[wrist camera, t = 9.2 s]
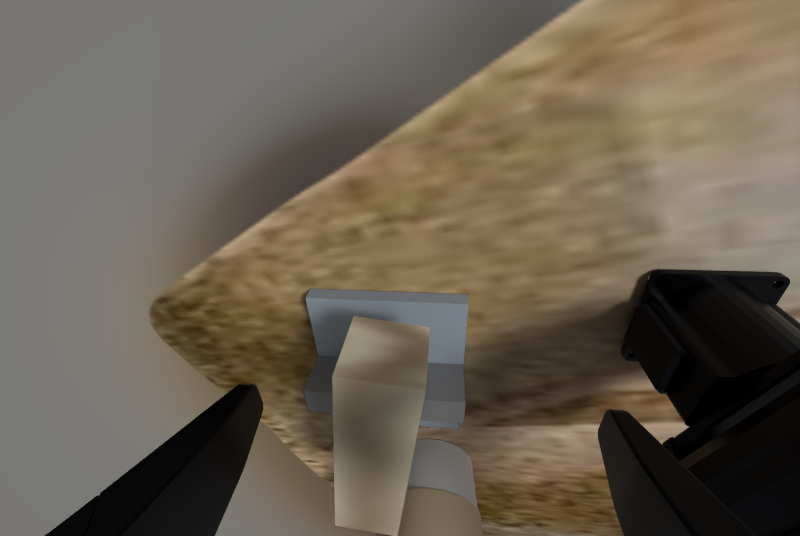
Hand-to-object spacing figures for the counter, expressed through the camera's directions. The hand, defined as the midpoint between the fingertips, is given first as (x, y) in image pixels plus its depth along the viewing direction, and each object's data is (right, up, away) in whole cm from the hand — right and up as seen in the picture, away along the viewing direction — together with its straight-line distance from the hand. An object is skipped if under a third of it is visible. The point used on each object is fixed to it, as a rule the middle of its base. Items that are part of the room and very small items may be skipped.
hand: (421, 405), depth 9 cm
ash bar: (-2, -5, +13) cm, 14 cm away
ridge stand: (-1, -3, +16) cm, 17 cm away
